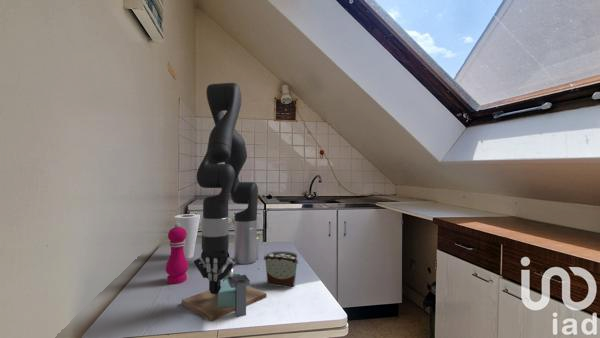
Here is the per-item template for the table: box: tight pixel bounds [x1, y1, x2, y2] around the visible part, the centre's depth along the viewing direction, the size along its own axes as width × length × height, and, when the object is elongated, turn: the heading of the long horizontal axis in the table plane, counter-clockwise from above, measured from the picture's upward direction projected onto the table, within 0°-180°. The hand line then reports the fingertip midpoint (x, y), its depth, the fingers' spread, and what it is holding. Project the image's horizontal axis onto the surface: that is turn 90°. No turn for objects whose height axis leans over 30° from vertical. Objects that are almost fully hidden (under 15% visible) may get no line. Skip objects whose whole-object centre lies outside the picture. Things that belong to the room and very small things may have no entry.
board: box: [180, 285, 267, 322], centre depth 88 cm, size 19×15×1 cm
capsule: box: [227, 268, 234, 279], centre depth 93 cm, size 2×2×8 cm
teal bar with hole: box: [218, 272, 244, 307], centre depth 89 cm, size 16×5×4 cm, turn 4°
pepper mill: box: [165, 222, 189, 285], centre depth 103 cm, size 7×7×20 cm
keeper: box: [228, 274, 251, 317], centre depth 81 cm, size 6×5×8 cm
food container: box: [263, 250, 300, 288], centre depth 102 cm, size 12×6×10 cm, turn 71°
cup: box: [174, 213, 201, 259], centre depth 132 cm, size 11×11×18 cm
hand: (214, 292), depth 86 cm, fingers closed
